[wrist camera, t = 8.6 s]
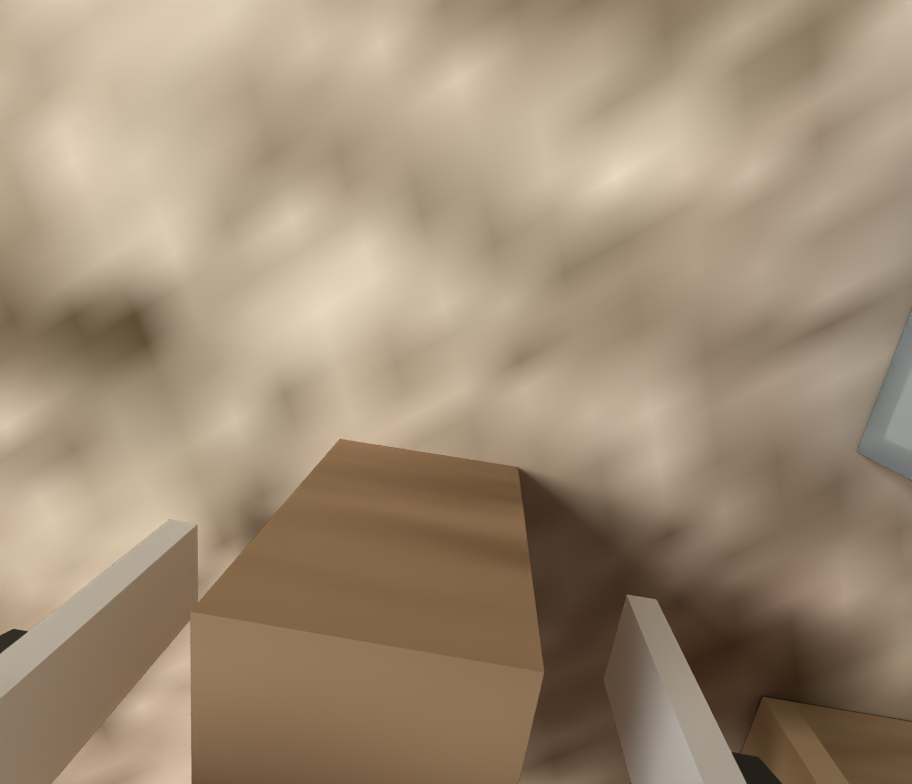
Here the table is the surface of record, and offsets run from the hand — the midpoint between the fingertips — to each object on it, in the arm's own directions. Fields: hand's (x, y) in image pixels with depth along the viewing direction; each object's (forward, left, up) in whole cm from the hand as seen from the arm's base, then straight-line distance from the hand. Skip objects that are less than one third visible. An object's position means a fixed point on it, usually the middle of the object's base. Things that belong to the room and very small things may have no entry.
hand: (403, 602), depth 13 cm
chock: (0, 0, -2) cm, 2 cm away
